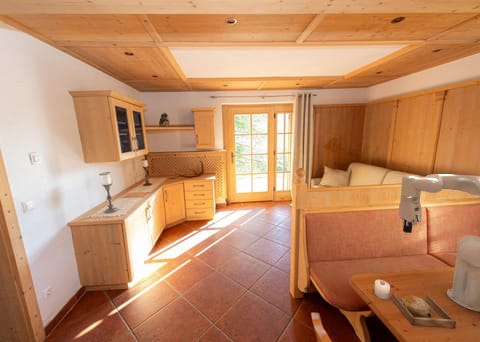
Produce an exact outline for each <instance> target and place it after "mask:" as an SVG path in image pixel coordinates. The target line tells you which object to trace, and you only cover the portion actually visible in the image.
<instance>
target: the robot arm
mask: <svg viewBox="0 0 480 342" xmlns="http://www.w3.org/2000/svg"><path fill="white" fill-rule="evenodd" d="M443 190H451V191H460V192H464V193H468V194H470V195H474V196H477V197H480V175H466V174H465V175H464V174H448V173H447V174H446V173H443V174H442V173H433V174H432V173H431V174H428V175H426V176H424V177H422V176H421V175H416V174H404V175H402V178H401V190H400V201H399V205H398V216H399V218H400V219H401V220H402V224H403V225H402V226H403V227H402V232H403V233H406V234H411V233H413V227H414V226H418V223H421V221H422V205H421V202H420V201H421V193H422V192H425V193H430V194H431V193H432V194H435V193H436V194H437V193H439V192H441V191H443ZM456 244H457V245H456V255H455V257H456V258H455V267H454V273H453V281H452V288H448V289H447V290H446V294H447V296H448V298H449V299H450V300H452V301H453V302H454V303H455V304H457V305H459V306H461V307H463V308H465V309H469V310H471V311H474V312H480V236H477V235H473V234H472V235H471V234H468V235H467V234H466V235H463V236H461V237H460V238H459V239H458V240H457V243H456Z"/></svg>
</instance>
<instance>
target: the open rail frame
mask: <svg viewBox="0 0 480 342" xmlns="http://www.w3.org/2000/svg"><path fill="white" fill-rule="evenodd" d="M390 298H391V300H392V301H393V302H394V304H395V305H396V307H397V308H398V309H399V310H400V311H401V313H402V314H403V315H404V316H405V318H406V319H407V320H408V321H409V323H410V324H411V325H412V326H419V325H420V326H421V327H423V326H424V327H434V326H436V327H437V328H447V329H448V328H450V329H455V328H456V326H457V325H456V323H457V321H456V320H455V319H454V318H453V317H452V316H451V315H450V314H449V313H448V312H447V311H446V310H444V308H442V307H441V306H440V304H438V303H437V302H436V301H435V300H434V299H433V298H432V297H431V296H430V295H429V294H425V302H426V303H427V304H428V305H429V306H430V307H431V308H432V309H433V310H435V312H436V313H438V314H439V315H440V317H441V318H436V317H435V318H434V317H433V318H432V317H431V318H430V317H429V318H419V317H413V316H412V314H411V313H410V312H409V311H408V310H407V308H406V307H405V306H404V305H403V304H402V302H401V299H400V298H398V297H397V295H396V294H395V293H394V292H391V297H390Z"/></svg>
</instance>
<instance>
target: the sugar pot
mask: <svg viewBox="0 0 480 342" xmlns="http://www.w3.org/2000/svg"><path fill="white" fill-rule="evenodd" d="M390 291H391V284H389V283H388V282H387V281H385V280H382V279H375V280H374V295H375V296H376V297H377V298H379V299H381V300H383V301H384V300H385V301H386V300H389V299H390V293H391V292H390Z"/></svg>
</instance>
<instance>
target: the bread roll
mask: <svg viewBox="0 0 480 342" xmlns="http://www.w3.org/2000/svg"><path fill="white" fill-rule="evenodd" d="M400 301H401V302H402V304H403V305H404V306H405V307H406V308H407V310H408V311H409V312H410V313H411V314H412V316H413V317H419V318H430V317H431V314H432V310H431V306H430V304H429V303H428V302H427V301H426V300H424V299H423V298H422V297H418V296H416V295H411V294H410V295H405V296H401V297H400Z"/></svg>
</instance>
